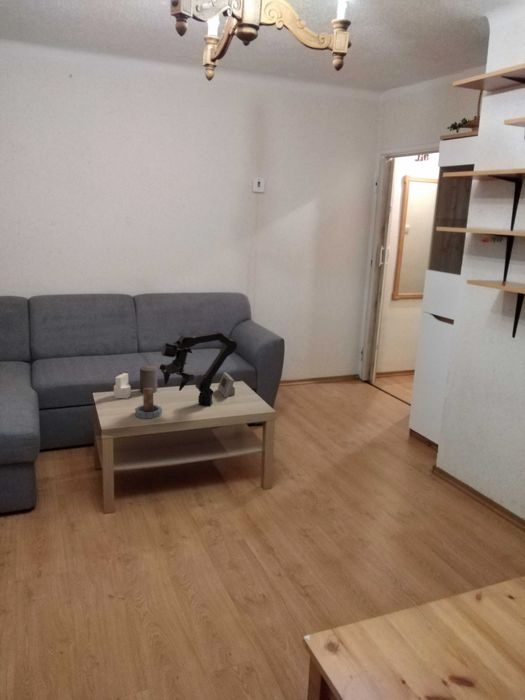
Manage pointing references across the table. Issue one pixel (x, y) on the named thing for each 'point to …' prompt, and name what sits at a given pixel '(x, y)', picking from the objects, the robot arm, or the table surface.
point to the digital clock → (226, 385)
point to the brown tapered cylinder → (148, 400)
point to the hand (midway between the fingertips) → (172, 387)
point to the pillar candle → (148, 378)
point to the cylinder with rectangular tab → (122, 387)
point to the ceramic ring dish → (148, 415)
